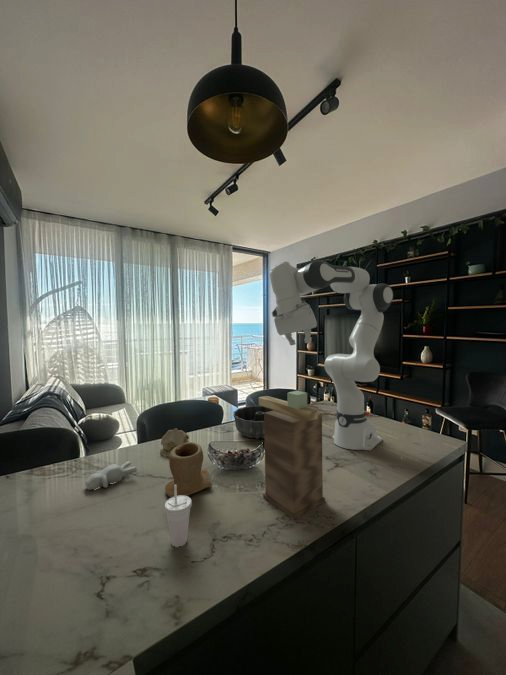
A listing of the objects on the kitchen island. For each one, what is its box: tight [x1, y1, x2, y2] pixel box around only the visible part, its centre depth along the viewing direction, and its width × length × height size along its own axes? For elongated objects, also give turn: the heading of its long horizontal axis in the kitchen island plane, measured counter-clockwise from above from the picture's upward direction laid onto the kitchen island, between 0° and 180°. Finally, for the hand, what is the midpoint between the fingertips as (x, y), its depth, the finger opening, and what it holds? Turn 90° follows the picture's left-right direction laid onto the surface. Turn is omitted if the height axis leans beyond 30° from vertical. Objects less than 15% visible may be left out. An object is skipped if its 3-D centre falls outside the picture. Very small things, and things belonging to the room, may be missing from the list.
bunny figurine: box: [84, 460, 138, 491], centre depth 100 cm, size 10×5×15 cm
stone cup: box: [164, 441, 213, 498], centre depth 94 cm, size 15×12×15 cm
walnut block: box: [262, 410, 326, 520], centre depth 88 cm, size 13×13×26 cm
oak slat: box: [258, 395, 319, 421], centre depth 89 cm, size 4×22×2 cm, turn 37°
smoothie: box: [164, 485, 193, 548], centre depth 71 cm, size 6×6×14 cm
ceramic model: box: [159, 427, 190, 458], centre depth 124 cm, size 14×11×10 cm
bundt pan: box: [232, 405, 273, 440], centre depth 144 cm, size 26×26×10 cm
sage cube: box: [286, 390, 308, 409], centre depth 85 cm, size 4×4×4 cm
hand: (300, 343), depth 107 cm, fingers open, 8 cm apart
